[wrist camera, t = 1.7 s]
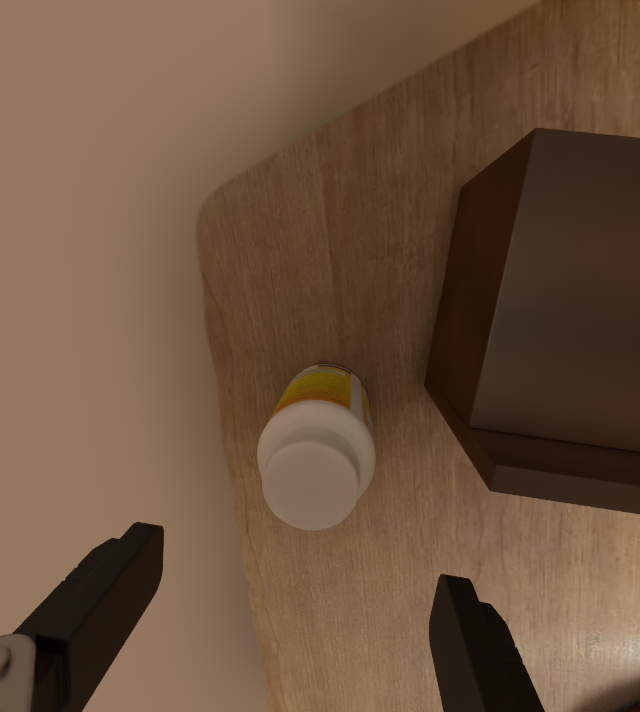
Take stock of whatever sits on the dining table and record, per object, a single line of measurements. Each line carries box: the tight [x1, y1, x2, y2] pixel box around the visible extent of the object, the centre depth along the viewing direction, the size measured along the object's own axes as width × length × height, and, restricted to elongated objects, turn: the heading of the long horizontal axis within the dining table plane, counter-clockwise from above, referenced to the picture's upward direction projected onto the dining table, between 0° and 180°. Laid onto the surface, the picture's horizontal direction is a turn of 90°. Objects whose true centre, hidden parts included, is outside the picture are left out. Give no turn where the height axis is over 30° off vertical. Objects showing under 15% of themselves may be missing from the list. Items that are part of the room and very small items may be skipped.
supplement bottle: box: [257, 364, 376, 531], centre depth 20 cm, size 6×6×10 cm
